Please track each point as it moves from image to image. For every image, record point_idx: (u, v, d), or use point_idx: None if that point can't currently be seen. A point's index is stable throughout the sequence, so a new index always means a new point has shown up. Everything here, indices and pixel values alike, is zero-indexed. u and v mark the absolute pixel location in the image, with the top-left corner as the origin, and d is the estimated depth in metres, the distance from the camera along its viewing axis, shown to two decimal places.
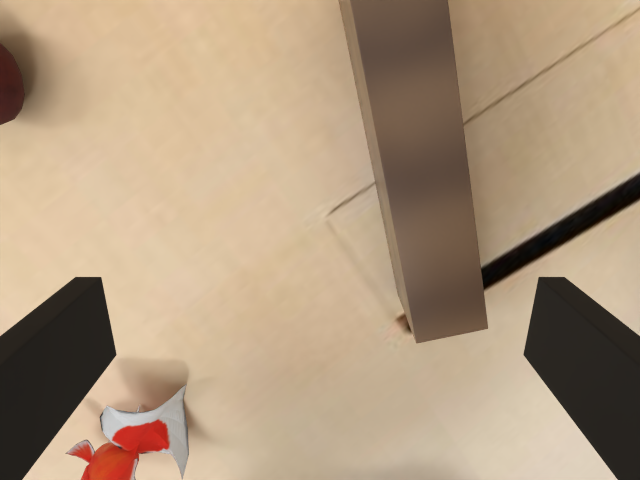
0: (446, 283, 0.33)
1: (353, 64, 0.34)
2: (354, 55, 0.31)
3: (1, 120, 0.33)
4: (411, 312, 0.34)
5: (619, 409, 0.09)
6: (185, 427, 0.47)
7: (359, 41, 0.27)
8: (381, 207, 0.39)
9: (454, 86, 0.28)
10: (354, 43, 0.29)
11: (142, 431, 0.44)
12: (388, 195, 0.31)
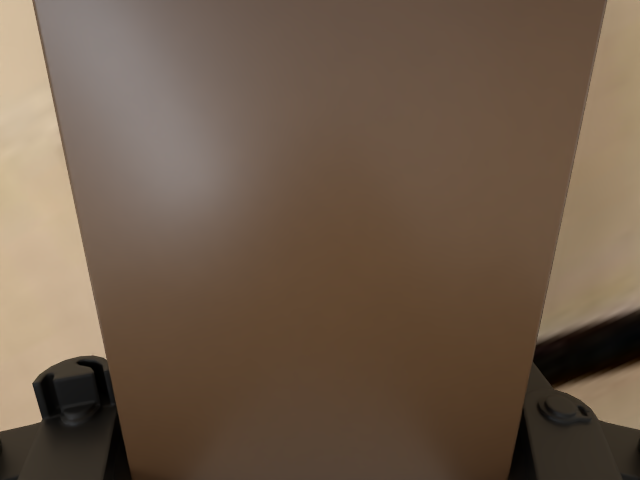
0: None
1: None
2: None
3: None
4: None
5: None
6: None
7: None
8: None
9: None
10: None
11: None
12: None
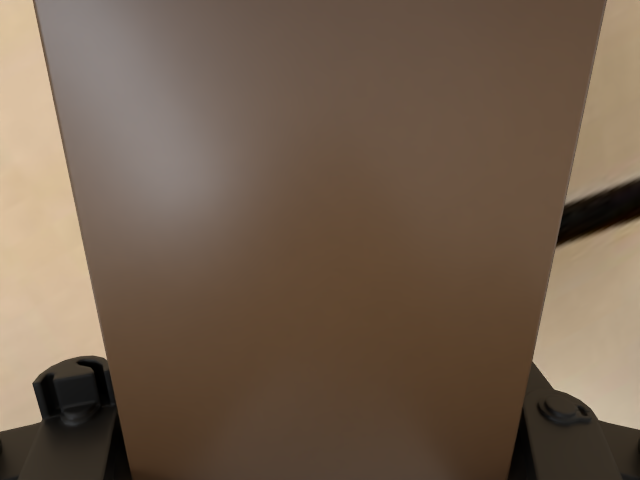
0: None
1: None
2: None
3: None
4: None
5: None
6: None
7: None
8: None
9: None
10: None
11: None
12: None
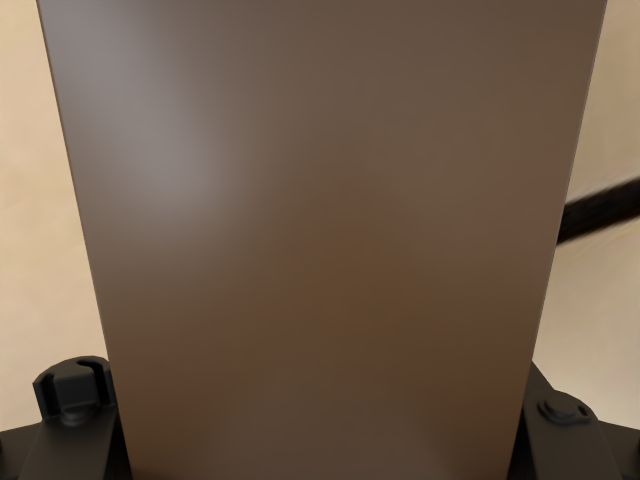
0: None
1: None
2: None
3: None
4: None
5: None
6: None
7: None
8: None
9: None
10: None
11: None
12: None
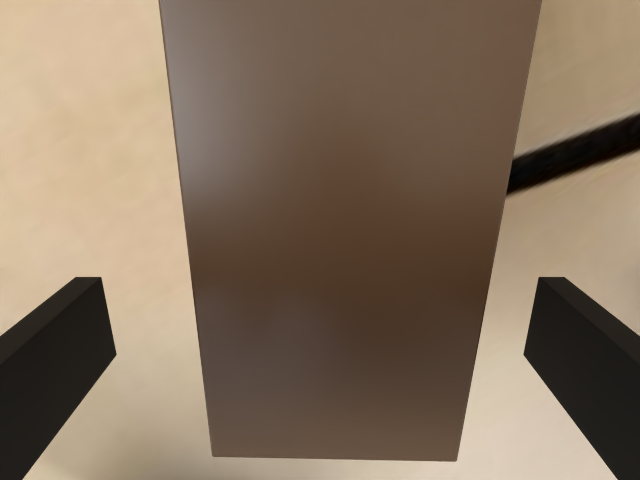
0: (352, 279, 0.08)
1: None
2: None
3: None
4: (203, 356, 0.09)
5: (619, 409, 0.09)
6: None
7: None
8: None
9: None
10: None
11: None
12: None
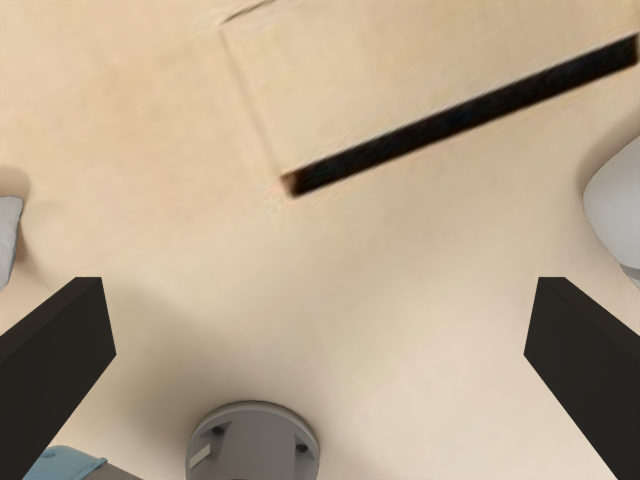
0: None
1: None
2: None
3: None
4: None
5: (618, 408, 0.09)
6: (13, 254, 0.40)
7: None
8: None
9: None
10: None
11: None
12: None
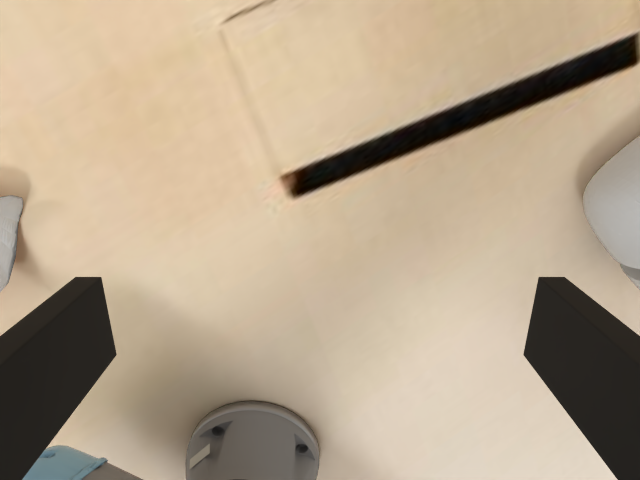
0: None
1: None
2: None
3: None
4: None
5: (618, 408, 0.09)
6: (13, 254, 0.40)
7: None
8: None
9: None
10: None
11: None
12: None
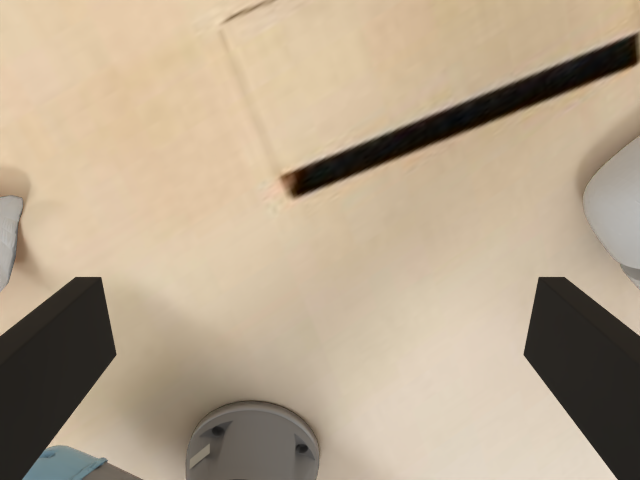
0: None
1: None
2: None
3: None
4: None
5: (618, 408, 0.09)
6: (13, 254, 0.40)
7: None
8: None
9: None
10: None
11: None
12: None
